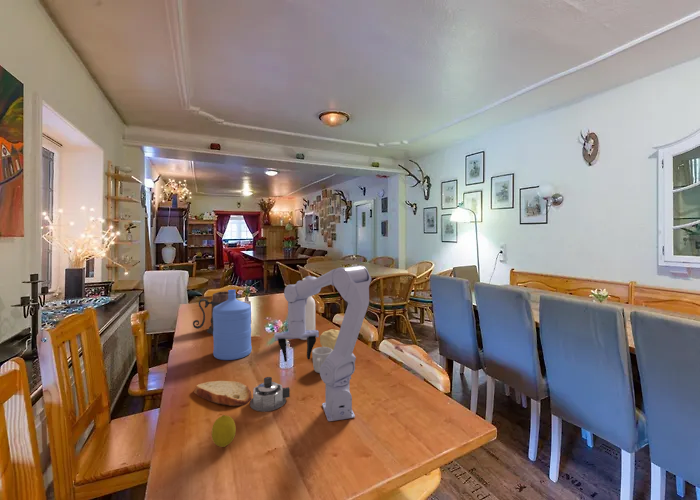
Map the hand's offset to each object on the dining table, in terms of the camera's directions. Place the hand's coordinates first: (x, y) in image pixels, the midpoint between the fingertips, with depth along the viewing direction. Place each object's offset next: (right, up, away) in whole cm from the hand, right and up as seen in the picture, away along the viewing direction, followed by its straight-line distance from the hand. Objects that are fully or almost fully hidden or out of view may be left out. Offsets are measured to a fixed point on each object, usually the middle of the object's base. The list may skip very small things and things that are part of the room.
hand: (297, 359), depth 109 cm
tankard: (-54, -7, +66) cm, 85 cm away
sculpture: (+11, -9, +33) cm, 36 cm away
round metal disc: (-8, -11, -7) cm, 15 cm away
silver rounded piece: (-8, -10, -8) cm, 15 cm away
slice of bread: (-24, -11, -4) cm, 27 cm away
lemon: (-13, -12, -29) cm, 34 cm away
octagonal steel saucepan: (-7, -10, -7) cm, 14 cm away
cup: (+7, -10, +14) cm, 19 cm away
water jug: (-33, -9, +32) cm, 47 cm away
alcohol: (-4, -8, +55) cm, 55 cm away
